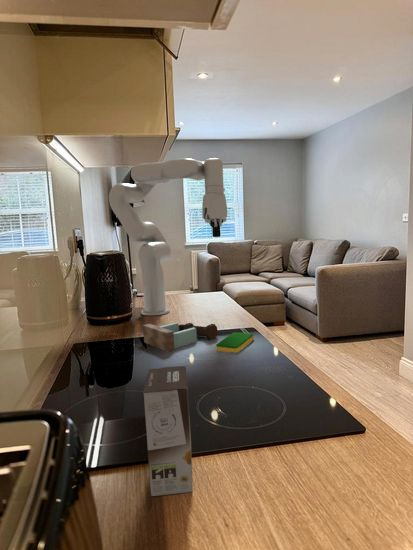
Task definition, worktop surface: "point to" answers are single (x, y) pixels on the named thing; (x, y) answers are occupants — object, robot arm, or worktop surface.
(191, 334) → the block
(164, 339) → the wooden plank
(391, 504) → the worktop surface
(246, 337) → the dish sponge
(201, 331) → the bolt
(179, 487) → the coffee box
